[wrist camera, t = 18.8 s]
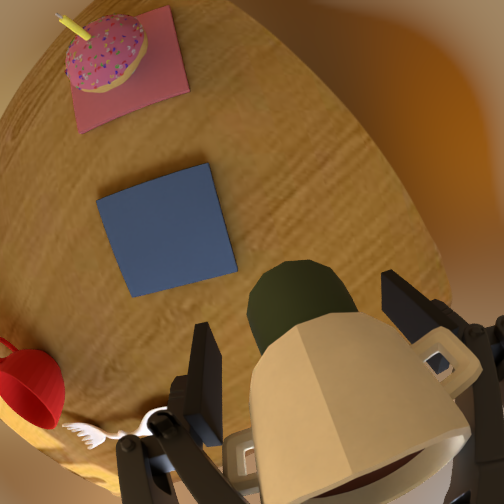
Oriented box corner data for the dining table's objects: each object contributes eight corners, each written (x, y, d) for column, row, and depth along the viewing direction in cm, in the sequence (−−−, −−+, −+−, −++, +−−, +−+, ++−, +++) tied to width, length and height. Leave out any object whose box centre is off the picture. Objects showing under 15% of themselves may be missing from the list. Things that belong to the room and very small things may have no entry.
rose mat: (170, 8, 20) (169, 4, 19) (190, 91, 24) (189, 89, 23) (70, 51, 20) (67, 49, 19) (82, 134, 24) (78, 133, 23)
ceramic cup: (25, 303, 30) (-11, 338, 20) (90, 384, 36) (71, 427, 26) (-3, 326, 31) (-32, 357, 21) (53, 395, 36) (34, 431, 27)
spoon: (64, 415, 39) (59, 426, 35) (190, 393, 37) (189, 409, 34) (92, 439, 42) (88, 451, 38) (217, 422, 40) (217, 438, 37)
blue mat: (208, 162, 27) (207, 162, 26) (237, 268, 31) (238, 271, 30) (99, 199, 27) (95, 200, 26) (134, 294, 31) (132, 297, 30)
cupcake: (74, 74, 21) (10, 48, 9) (126, 20, 19) (85, -32, 8) (116, 114, 23) (53, 94, 12) (174, 56, 22) (144, 0, 10)
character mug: (249, 370, 19) (272, 539, 7) (191, 300, 17) (157, 515, 4) (381, 298, 18) (495, 431, 6) (347, 211, 16) (537, 332, 3)
